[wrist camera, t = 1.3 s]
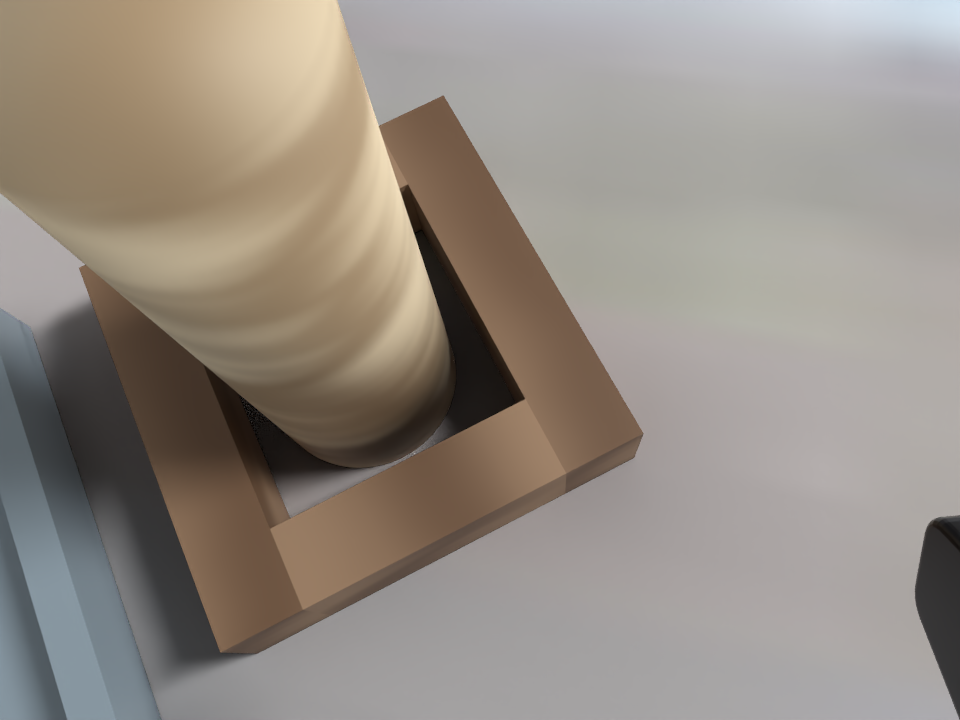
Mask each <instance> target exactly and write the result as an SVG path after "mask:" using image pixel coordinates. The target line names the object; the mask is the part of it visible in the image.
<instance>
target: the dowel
mask: <svg viewBox="0 0 960 720" xmlns="http://www.w3.org/2000/svg"><path fill="white" fill-rule="evenodd" d="M0 193H1V194H2V195H3V196H5V197H6V198H7V199H8V200H9V201H11V202H12V203H13V204H14V205H15V206H16V207H18V208H19V209H20V210H21V211H22V212H24V213H25V214H26V215H27V216H28V217H30V218H31V219H32V220H33V221H34V222H35V223H37V224H38V225H39V226H40V227H41V228H43V229H44V230H45V231H46V232H47V233H48V234H50V235H51V236H52V237H53V238H54V239H56V240H57V241H58V242H59V243H60V244H62V245H63V246H64V247H65V248H66V249H67V250H69V251H70V252H71V253H72V254H73V255H75V256H76V257H77V258H78V259H79V260H81V261H82V262H83V263H84V264H85V265H86V266H88V267H89V268H90V269H91V270H92V271H94V272H95V273H96V274H97V275H98V276H100V277H101V278H102V279H103V280H104V281H105V282H107V283H108V284H109V285H110V286H111V287H113V288H114V289H115V290H116V291H117V292H119V293H120V294H121V295H122V296H123V297H124V298H126V299H127V300H128V301H129V302H130V303H132V304H133V305H134V306H135V307H136V308H137V309H139V310H140V311H141V312H142V313H143V314H145V315H146V316H147V317H148V318H149V319H151V320H152V321H153V322H154V323H155V324H156V325H158V326H159V327H160V328H161V329H162V330H164V331H165V332H166V333H167V334H168V335H170V336H171V337H172V338H173V339H174V340H175V341H177V342H178V343H179V344H180V345H181V346H183V347H184V348H185V349H186V350H187V351H189V352H190V353H191V354H192V355H193V356H194V357H196V358H197V359H198V360H199V361H200V362H202V363H203V364H204V365H205V366H206V367H208V368H209V369H210V370H211V371H212V372H213V373H215V374H216V375H217V376H218V377H219V378H221V379H222V380H223V381H224V382H225V383H226V384H228V385H229V386H230V387H231V388H232V389H234V390H235V391H236V392H237V393H238V394H240V395H241V396H242V397H243V398H244V399H245V400H247V401H248V402H249V403H250V404H251V405H253V406H254V407H255V408H256V409H257V410H259V411H260V412H261V413H262V414H263V415H264V416H266V417H267V418H268V419H269V420H270V421H272V422H273V423H274V424H275V425H276V426H278V427H279V428H280V429H281V430H282V431H283V432H285V433H286V434H287V435H288V436H289V437H291V438H292V439H293V440H294V441H295V442H297V443H298V444H299V445H300V446H301V447H303V448H304V449H305V450H306V451H308V452H309V453H310V454H312V455H314V456H316V457H317V458H319V459H321V460H324V461H326V462H329V463H331V464H335V465H339V466H343V467H352V468H367V467H374V466H380V465H383V464H387V463H390V462H393V461H395V460H398V459H400V458H402V457H404V456H406V455H408V454H409V453H411V452H413V451H414V450H416V449H417V448H418V447H420V446H421V445H422V444H423V443H425V442H426V441H427V440H428V439H429V438H430V437H431V436H432V435H433V433H434V432H435V431H436V429H437V428H438V427H439V426H440V424H441V423H442V421H443V419H444V417H445V416H446V414H447V412H448V409H449V407H450V405H451V402H452V398H453V395H454V391H455V383H456V365H455V358H454V354H453V351H452V347H451V344H450V341H449V338H448V335H447V332H446V329H445V326H444V323H443V320H442V317H441V314H440V311H439V308H438V305H437V302H436V298H435V295H434V292H433V289H432V286H431V283H430V280H429V277H428V274H427V271H426V268H425V265H424V262H423V259H422V256H421V253H420V250H419V247H418V244H417V241H416V238H415V235H414V232H413V229H412V226H411V223H410V220H409V217H408V214H407V211H406V208H405V205H404V202H403V199H402V196H401V193H400V189H399V186H398V183H397V180H396V177H395V174H394V171H393V168H392V165H391V162H390V159H389V156H388V153H387V150H386V147H385V144H384V141H383V138H382V135H381V132H380V129H379V126H378V123H377V120H376V117H375V114H374V111H373V108H372V105H371V102H370V99H369V96H368V93H367V90H366V87H365V84H364V81H363V77H362V74H361V71H360V68H359V65H358V62H357V59H356V56H355V53H354V50H353V47H352V44H351V41H350V38H349V35H348V32H347V29H346V26H345V23H344V20H343V17H342V14H341V11H340V8H339V5H338V2H337V0H0Z"/></svg>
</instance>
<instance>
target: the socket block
mask: <svg viewBox="0 0 960 720" xmlns="http://www.w3.org/2000/svg"><path fill="white" fill-rule="evenodd" d="M379 129H380V132H381V135H382V138H383V141H384V144H385V147H386V150H387V153H388V156H389V159H390V162H391V165H392V168H393V171H394V174H395V177H396V180H397V183H398V186H399V189H400V193H401V196H402V199H403V202H404V205H405V208H406V211H407V214H408V217H409V220H410V223H411V226H412V229H413V232H414V233H416V232H418V231H420V230H423V232H424V234H425V236H426V238H427V240H428V241H429V243H430V245H431V247H432V249H433V251H434V253H435V254H436V256H437V258H438V260H439V262H440V264H441V265H442V267H443V269H444V271H445V273H446V275H447V277H448V278H449V280H450V282H451V284H452V286H453V288H454V289H455V291H456V293H457V295H458V297H459V299H460V300H461V302H462V304H463V306H464V308H465V310H466V312H467V313H468V315H469V317H470V319H471V321H472V323H473V324H474V326H475V328H476V330H477V332H478V334H479V336H480V337H481V339H482V341H483V343H484V345H485V347H486V348H487V350H488V352H489V354H490V356H491V358H492V360H493V361H494V363H495V365H496V367H497V369H498V371H499V372H500V374H501V376H502V378H503V380H504V382H505V383H506V385H507V387H508V389H509V391H510V393H511V395H512V396H513V398H514V400H515V402H516V404H515V405H513V406H511V407H509V408H507V409H505V410H503V411H501V412H499V413H497V414H495V415H493V416H491V417H489V418H487V419H485V420H483V421H481V422H479V423H477V424H475V425H473V426H471V427H469V428H467V429H465V430H464V431H462V432H460V433H458V434H456V435H454V436H452V437H450V438H448V439H446V440H444V441H442V442H440V443H438V444H436V445H434V446H432V447H430V448H428V449H426V450H424V451H422V452H420V453H418V454H416V455H414V456H412V457H410V458H408V459H406V460H404V461H402V462H401V463H399V464H397V465H395V466H393V467H391V468H389V469H387V470H385V471H383V472H381V473H379V474H377V475H375V476H373V477H371V478H369V479H367V480H365V481H363V482H361V483H359V484H357V485H355V486H353V487H351V488H349V489H347V490H345V491H343V492H341V493H339V494H338V495H336V496H334V497H332V498H330V499H328V500H326V501H324V502H322V503H320V504H318V505H316V506H314V507H312V508H310V509H308V510H306V511H304V512H302V513H300V514H298V515H296V516H294V517H292V518H290V517H289V514H288V512H287V510H286V507H285V505H284V503H283V500H282V498H281V495H280V493H279V491H278V488H277V486H276V483H275V481H274V479H273V476H272V474H271V471H270V469H269V467H268V464H267V462H266V460H265V457H264V455H263V452H262V450H261V448H260V445H259V443H258V440H257V438H256V436H255V433H254V431H253V428H252V426H251V424H250V421H249V419H248V416H247V414H246V412H245V409H244V407H243V405H242V402H241V400H240V397H239V395H238V393H237V392H236V391H235V390H234V389H232V388H231V387H230V386H229V385H228V384H226V383H225V382H224V381H223V380H222V379H221V378H219V377H218V376H217V375H216V374H215V373H213V372H212V371H211V370H210V369H209V368H208V367H206V366H205V365H204V364H203V363H202V362H200V361H199V360H198V359H197V358H196V357H194V356H193V355H192V354H191V353H190V352H189V351H187V350H186V349H185V348H184V347H183V346H181V345H180V344H179V343H178V342H177V341H175V340H174V339H173V338H172V337H171V336H170V335H168V334H167V333H166V332H165V331H164V330H162V329H161V328H160V327H159V326H158V325H156V324H155V323H154V322H153V321H152V320H151V319H149V318H148V317H147V316H146V315H145V314H143V313H142V312H141V311H140V310H139V309H137V308H136V307H135V306H134V305H133V304H132V303H130V302H129V301H128V300H127V299H126V298H124V297H123V296H122V295H121V294H120V293H119V292H117V291H116V290H115V289H114V288H113V287H111V286H110V285H109V284H108V283H107V282H105V281H104V280H103V279H102V278H101V277H100V276H98V275H97V274H96V273H95V272H94V271H92V270H91V269H90V268H89V267H88V266H86V265H84V266H82V267H80V268H79V269H80V272H81V275H82V277H83V280H84V283H85V286H86V288H87V291H88V294H89V296H90V299H91V302H92V305H93V307H94V310H95V313H96V316H97V318H98V321H99V324H100V326H101V329H102V332H103V335H104V337H105V340H106V343H107V345H108V348H109V351H110V354H111V356H112V359H113V362H114V365H115V367H116V370H117V373H118V375H119V378H120V381H121V384H122V386H123V389H124V392H125V394H126V397H127V400H128V403H129V405H130V408H131V411H132V414H133V416H134V419H135V422H136V424H137V427H138V430H139V433H140V435H141V438H142V441H143V443H144V446H145V449H146V452H147V454H148V457H149V460H150V463H151V465H152V468H153V471H154V473H155V476H156V479H157V482H158V484H159V487H160V490H161V492H162V495H163V498H164V501H165V503H166V506H167V509H168V512H169V514H170V517H171V520H172V522H173V525H174V528H175V531H176V533H177V536H178V539H179V541H180V544H181V547H182V550H183V552H184V555H185V558H186V561H187V563H188V566H189V569H190V571H191V574H192V577H193V580H194V582H195V585H196V588H197V590H198V593H199V596H200V599H201V601H202V604H203V607H204V610H205V612H206V615H207V618H208V620H209V623H210V626H211V629H212V631H213V634H214V637H215V639H216V642H217V645H218V648H219V650H220V653H259V652H261V651H263V650H265V649H267V648H269V647H271V646H273V645H275V644H277V643H279V642H281V641H282V640H284V639H286V638H288V637H290V636H292V635H294V634H296V633H298V632H300V631H302V630H304V629H306V628H307V627H309V626H311V625H313V624H315V623H317V622H319V621H321V620H323V619H325V618H327V617H329V616H331V615H332V614H334V613H336V612H338V611H340V610H342V609H344V608H346V607H348V606H350V605H352V604H354V603H356V602H357V601H359V600H361V599H363V598H365V597H367V596H369V595H371V594H373V593H375V592H377V591H379V590H381V589H382V588H384V587H386V586H388V585H390V584H392V583H394V582H396V581H398V580H400V579H402V578H404V577H406V576H407V575H409V574H411V573H413V572H415V571H417V570H419V569H421V568H423V567H425V566H427V565H429V564H431V563H432V562H434V561H436V560H438V559H440V558H442V557H444V556H446V555H448V554H450V553H452V552H454V551H456V550H458V549H459V548H461V547H463V546H465V545H467V544H469V543H471V542H473V541H475V540H477V539H479V538H481V537H483V536H484V535H486V534H488V533H490V532H492V531H494V530H496V529H498V528H500V527H502V526H504V525H506V524H508V523H509V522H511V521H513V520H515V519H517V518H519V517H521V516H523V515H525V514H527V513H529V512H531V511H533V510H534V509H536V508H538V507H540V506H542V505H544V504H546V503H548V502H550V501H552V500H554V499H556V498H558V497H559V496H561V495H563V494H565V493H567V492H569V491H571V490H573V489H575V488H577V487H579V486H581V485H583V484H584V483H586V482H588V481H590V480H592V479H594V478H596V477H598V476H600V475H602V474H604V473H606V472H608V471H610V470H611V469H613V468H615V467H617V466H619V465H621V464H623V463H625V462H627V461H629V460H631V459H633V458H634V457H635V454H636V451H637V449H638V446H639V444H640V441H641V439H642V436H643V432H642V430H641V429H640V427H639V425H638V424H637V422H636V420H635V418H634V417H633V415H632V413H631V412H630V410H629V408H628V407H627V405H626V403H625V402H624V400H623V398H622V396H621V395H620V393H619V391H618V390H617V388H616V386H615V385H614V383H613V381H612V380H611V378H610V376H609V375H608V373H607V371H606V369H605V368H604V366H603V364H602V363H601V361H600V359H599V358H598V356H597V354H596V353H595V351H594V349H593V347H592V346H591V344H590V342H589V341H588V339H587V337H586V336H585V334H584V332H583V331H582V329H581V327H580V325H579V324H578V322H577V320H576V319H575V317H574V315H573V314H572V312H571V310H570V309H569V307H568V305H567V303H566V302H565V300H564V298H563V297H562V295H561V293H560V292H559V290H558V288H557V287H556V285H555V283H554V282H553V280H552V278H551V276H550V275H549V273H548V271H547V270H546V268H545V266H544V265H543V263H542V261H541V260H540V258H539V256H538V254H537V253H536V251H535V249H534V248H533V246H532V244H531V243H530V241H529V239H528V238H527V236H526V234H525V232H524V231H523V229H522V227H521V226H520V224H519V222H518V221H517V219H516V217H515V216H514V214H513V212H512V211H511V209H510V207H509V205H508V204H507V202H506V200H505V199H504V197H503V195H502V194H501V192H500V190H499V189H498V187H497V185H496V183H495V182H494V180H493V178H492V177H491V175H490V173H489V172H488V170H487V168H486V167H485V165H484V163H483V161H482V160H481V158H480V156H479V155H478V153H477V151H476V150H475V148H474V146H473V145H472V143H471V141H470V140H469V138H468V136H467V134H466V133H465V131H464V129H463V128H462V126H461V124H460V123H459V121H458V119H457V118H456V116H455V114H454V112H453V111H452V109H451V107H450V106H449V104H448V102H447V101H446V99H445V97H444V96H441V97H439V98H437V99H435V100H433V101H431V102H429V103H427V104H424V105H422V106H420V107H418V108H416V109H414V110H412V111H410V112H408V113H405V114H403V115H401V116H399V117H397V118H395V119H393V120H391V121H389V122H386V123H384V124H382V125H380V126H379Z"/></svg>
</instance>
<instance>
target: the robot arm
mask: <svg viewBox="0 0 960 720" xmlns="http://www.w3.org/2000/svg"><path fill="white" fill-rule="evenodd" d="M915 600H916V606H917V610H918V614H919V617H920V620H921V622H922V625H923V627H924V630H925V632H926V635H927V638H928V640H929V643H930V645H931V648H932V650H933V653H934V655H935V658H936V661H937V663H938V666H939V668H940V671H941V673H942V676H943V678H944V681H945V684H946V686H947V689H948V691H949V694H950V696H951V699H952V701H953V704H954V707H955V709H956V712H957V714H958V717H959V719H960V515H959V516H947V517H938V518H936V519H934V520H932V521H931V522H930V523H929V525H928V526H927V528H926V532H925V536H924V541H923V547H922V552H921V557H920V563H919V568H918V574H917V579H916V585H915Z"/></svg>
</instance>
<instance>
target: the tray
mask: <svg viewBox="0 0 960 720" xmlns="http://www.w3.org/2000/svg"><path fill="white" fill-rule="evenodd" d="M0 720H161V717H160V714H159V711H158V708H157V705H156V702H155V699H154V696H153V693H152V690H151V687H150V684H149V681H148V678H147V675H146V672H145V669H144V666H143V663H142V660H141V657H140V654H139V651H138V648H137V645H136V642H135V639H134V636H133V633H132V630H131V627H130V624H129V621H128V618H127V615H126V612H125V609H124V606H123V603H122V600H121V597H120V594H119V591H118V588H117V585H116V582H115V579H114V576H113V573H112V570H111V567H110V564H109V561H108V558H107V555H106V552H105V549H104V546H103V543H102V540H101V537H100V534H99V531H98V528H97V525H96V522H95V519H94V516H93V514H92V511H91V508H90V505H89V502H88V499H87V496H86V493H85V490H84V487H83V484H82V481H81V478H80V475H79V472H78V469H77V466H76V463H75V460H74V457H73V454H72V451H71V448H70V445H69V442H68V439H67V436H66V433H65V430H64V427H63V424H62V421H61V418H60V415H59V412H58V409H57V406H56V403H55V400H54V397H53V394H52V391H51V388H50V385H49V382H48V379H47V376H46V373H45V370H44V367H43V364H42V361H41V358H40V355H39V352H38V349H37V346H36V343H35V340H34V337H33V334H32V331H31V328H30V327H29V326H28V325H26V324H25V323H23V322H21V321H20V320H18V319H17V318H15V317H14V316H12V315H10V314H9V313H7V312H6V311H4V310H3V309H1V308H0Z"/></svg>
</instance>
